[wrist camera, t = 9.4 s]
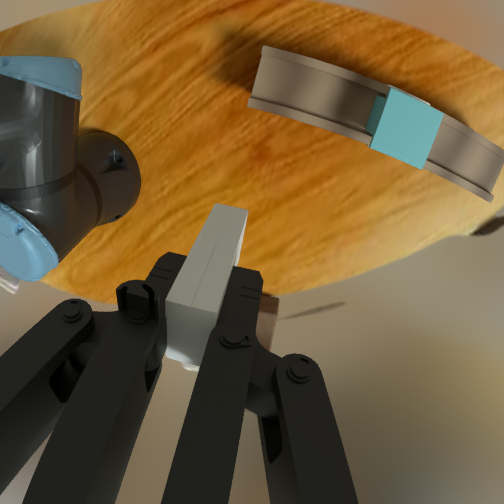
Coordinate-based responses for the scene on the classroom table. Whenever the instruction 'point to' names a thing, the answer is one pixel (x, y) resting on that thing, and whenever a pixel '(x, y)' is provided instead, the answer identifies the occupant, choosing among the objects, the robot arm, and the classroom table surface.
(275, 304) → the wooden block
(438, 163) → the wooden bench
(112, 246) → the classroom table surface
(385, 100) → the rider
